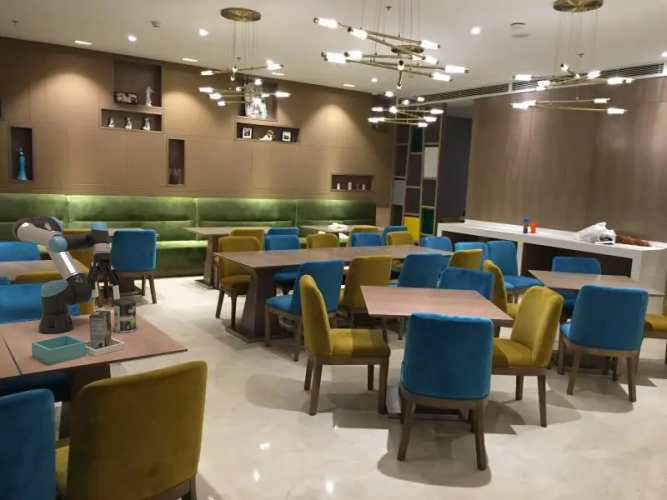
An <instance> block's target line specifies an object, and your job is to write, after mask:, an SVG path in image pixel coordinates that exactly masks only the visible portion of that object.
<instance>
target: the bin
mask: <svg viewBox="0 0 667 500" xmlns="http://www.w3.org/2000/svg"><path fill="white" fill-rule="evenodd" d="M85 342H86V341H84V340H81V339H79V338H77V337H75V336H72V335H70V334H65V335H60V336H55V337H51V338H46V339H42V340H38V341H33V342H31V354H32V356H33V357H32V358H34V357H35V359H36V358H37V360H38V359H39V361H40V362H42V363H45V364H47V365H49V366H50V365H51V366H52V365H54V364H55V365H56V364H59V363H63V362H67V361H70V360H74V359H77V358H82V357H86V355H87V353H86V348H85Z"/></svg>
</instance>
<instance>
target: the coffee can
mask: <svg viewBox="0 0 667 500" xmlns="http://www.w3.org/2000/svg"><path fill="white" fill-rule="evenodd" d="M113 323H114V331H115V332H116V333H123V334H124V333H131V332H135V331H136V330H137V301H136V300H135V299H131V298H130V299H117V300H114V301H113Z"/></svg>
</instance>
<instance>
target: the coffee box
mask: <svg viewBox="0 0 667 500" xmlns="http://www.w3.org/2000/svg"><path fill="white" fill-rule="evenodd" d="M111 314H112V313H111V310H95V311H94V312H93V313H91V314H90V315H89V316H88V317H89V341H90V344H91V347H90V348H92V349H95V350H96V349H100V348H104V347H108V346H112V339H111V338H112V318H111V317H112V316H111Z"/></svg>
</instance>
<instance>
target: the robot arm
mask: <svg viewBox="0 0 667 500" xmlns="http://www.w3.org/2000/svg"><path fill="white" fill-rule="evenodd" d="M109 233H110V232H109V228H108V224H107V223H106V222H103V221H95V222H93V223H91V224H90V230H89V231H88V232H86V233H80V234H79V233H78V234H71V235H63V234H64V228H63V223H62V222H61V220H60V219H58V218H57V217H55V216H49V215H48V216H37V217H34V216H33V217H23V218H21V219H19V220H17V221H15V222H14V224H13V225H12V234H13V237H14V238H15V239H16V240H19V241H20V242H23V243H24V242H25V243H33V244H37V245H40V246H42V247H44V248H45V250H46V252H47V253H48V255H49V257H50V259H51V260H52V261H53V264H54V265H55V267H56V268H57V270H58V272H59V273H60V276H61V277H62V279H55V280H50V281H47V282H45V283H43V284H42V285H41V288H40V298H41V300H40V301H41V318H40V321H39V325H38V332H39V333H41V334H45V335H46V334H52V335H53V334H62V333H67V332H69V331H72V330H73V329H74V328H75V327H74V326H75V325H74V321H73V319H72V317H71V314H70V308H69V307H71V306H74V305H79V304H85V303H86V304H87V303H90V302H93V301H94V300H95V299H96V298H97V297H99V288H98V287H99V286H98V282H97V280H98V279H99V276H100V275H101V274H103V275H105V276H107V278H108V279H109V281H110V282H111V283H112V285H113V286H112V291H113V300H114V301H117V300H121V299H120V286H121V285H122V284H123V282H122V280H121V277H120V276H119V273H118V271H117V268H116V265H111V262H112V255H111V245H110V237H109V236H110V234H109ZM90 250H92V254H93V261H92V262H90V264H89V265H90V266H89V270H88V273H87V274H86V273H85V272H83V271H81V269H79V267H78V265H77V263H76V261H75V260H74V259H73V257H72V255H71V254H70V252H73V251H81V252H87V251H90Z"/></svg>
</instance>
